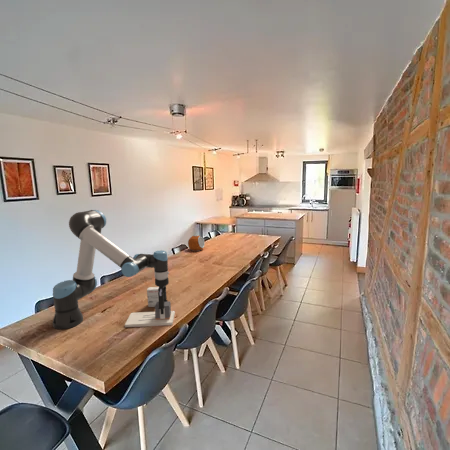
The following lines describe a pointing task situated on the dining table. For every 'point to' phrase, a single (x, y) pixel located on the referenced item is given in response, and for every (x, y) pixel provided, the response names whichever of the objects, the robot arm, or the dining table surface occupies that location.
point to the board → (147, 319)
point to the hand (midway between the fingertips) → (163, 315)
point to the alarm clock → (196, 243)
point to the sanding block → (167, 310)
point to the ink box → (152, 296)
